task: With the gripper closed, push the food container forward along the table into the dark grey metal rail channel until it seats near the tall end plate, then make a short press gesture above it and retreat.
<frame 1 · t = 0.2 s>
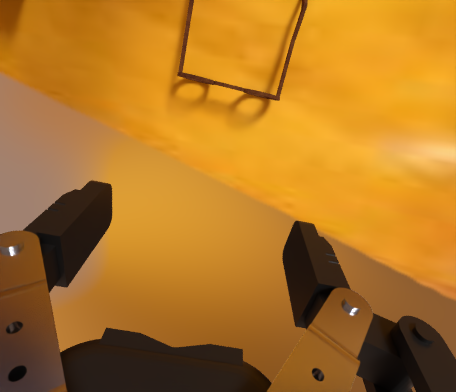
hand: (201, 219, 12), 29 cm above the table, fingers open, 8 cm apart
glasses: (240, 34, 34), on the table
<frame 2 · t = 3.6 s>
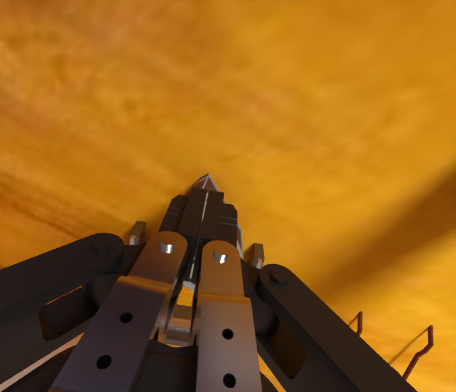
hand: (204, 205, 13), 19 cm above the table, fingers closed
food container: (205, 211, 36), on the table
glasses: (376, 337, 48), on the table
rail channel: (192, 276, 41), on the table
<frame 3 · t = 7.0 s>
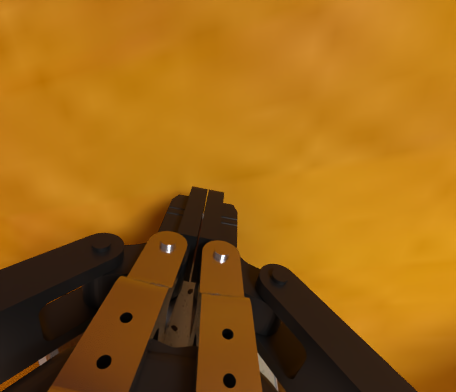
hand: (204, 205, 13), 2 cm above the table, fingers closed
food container: (195, 277, 18), on the table, touching gripper
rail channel: (176, 376, 24), on the table
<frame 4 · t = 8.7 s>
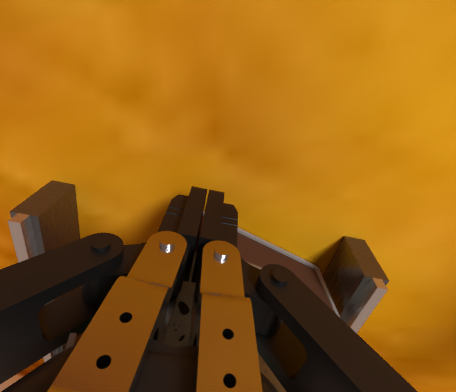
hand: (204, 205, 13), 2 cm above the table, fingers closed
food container: (226, 265, 17), on the table, touching gripper, hand
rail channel: (193, 310, 19), on the table
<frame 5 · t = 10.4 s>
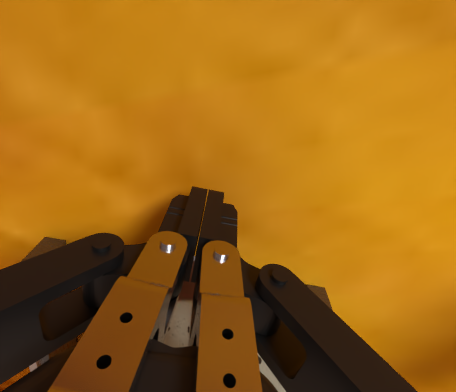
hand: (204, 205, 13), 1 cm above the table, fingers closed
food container: (209, 303, 19), on the table
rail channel: (174, 343, 21), on the table
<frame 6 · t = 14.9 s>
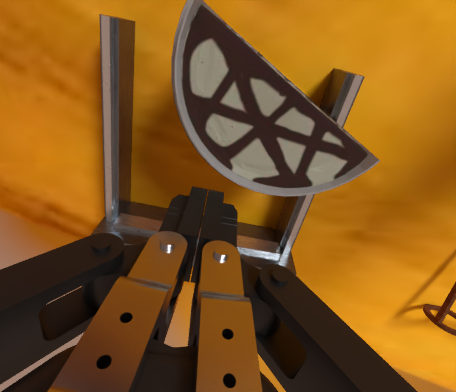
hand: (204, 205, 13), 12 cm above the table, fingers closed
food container: (249, 99, 22), on the table
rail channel: (216, 152, 24), on the table
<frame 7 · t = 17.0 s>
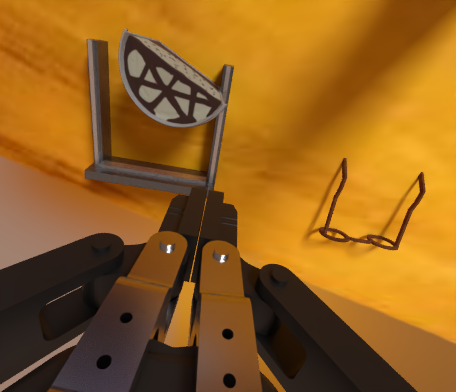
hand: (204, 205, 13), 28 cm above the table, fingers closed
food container: (178, 85, 37), on the table
glasses: (365, 199, 45), on the table
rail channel: (163, 119, 39), on the table
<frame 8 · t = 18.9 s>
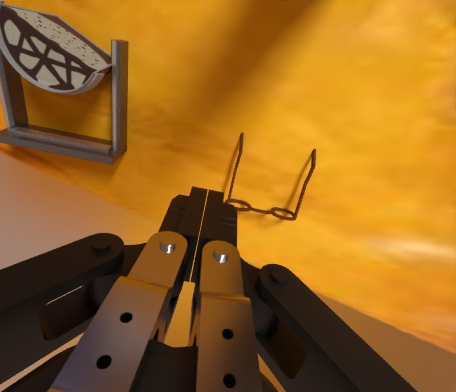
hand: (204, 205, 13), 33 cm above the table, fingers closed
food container: (81, 58, 40), on the table
glasses: (268, 173, 49), on the table
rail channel: (70, 90, 42), on the table
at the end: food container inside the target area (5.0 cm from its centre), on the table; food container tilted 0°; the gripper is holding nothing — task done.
